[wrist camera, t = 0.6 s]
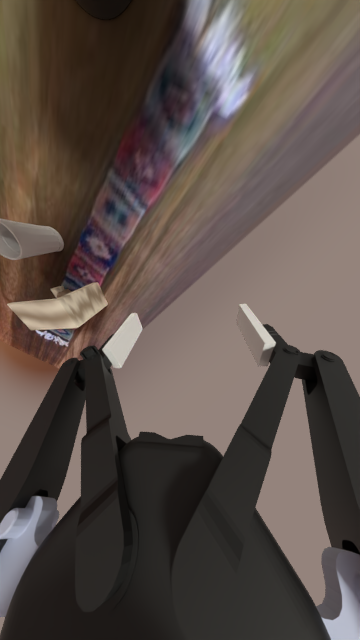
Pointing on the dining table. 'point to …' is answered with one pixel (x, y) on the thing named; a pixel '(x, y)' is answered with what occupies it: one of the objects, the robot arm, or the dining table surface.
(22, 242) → the cup
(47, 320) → the shelf
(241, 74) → the dining table surface
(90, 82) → the dining table surface
